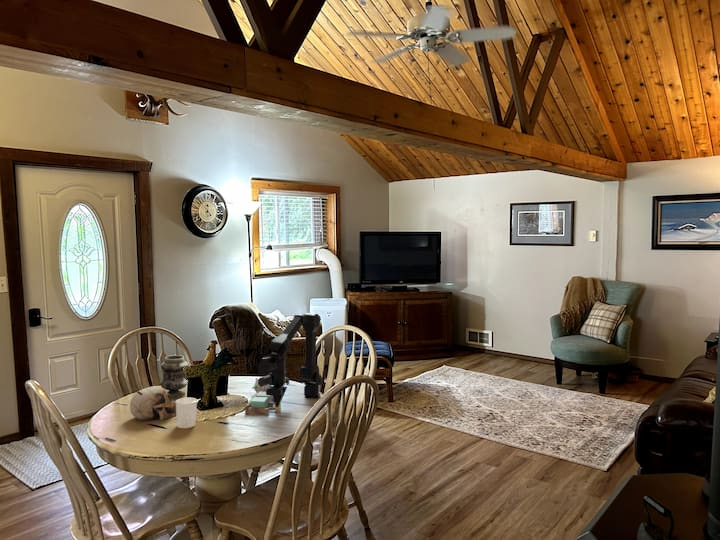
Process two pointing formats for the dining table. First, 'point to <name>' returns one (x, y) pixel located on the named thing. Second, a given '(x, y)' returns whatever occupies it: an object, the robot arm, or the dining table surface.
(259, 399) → the teal cube mallet
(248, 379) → the dining table surface
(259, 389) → the grey spiky lump
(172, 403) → the skull
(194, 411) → the white cup
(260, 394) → the slate block
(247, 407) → the shelf
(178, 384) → the apothecary jar
